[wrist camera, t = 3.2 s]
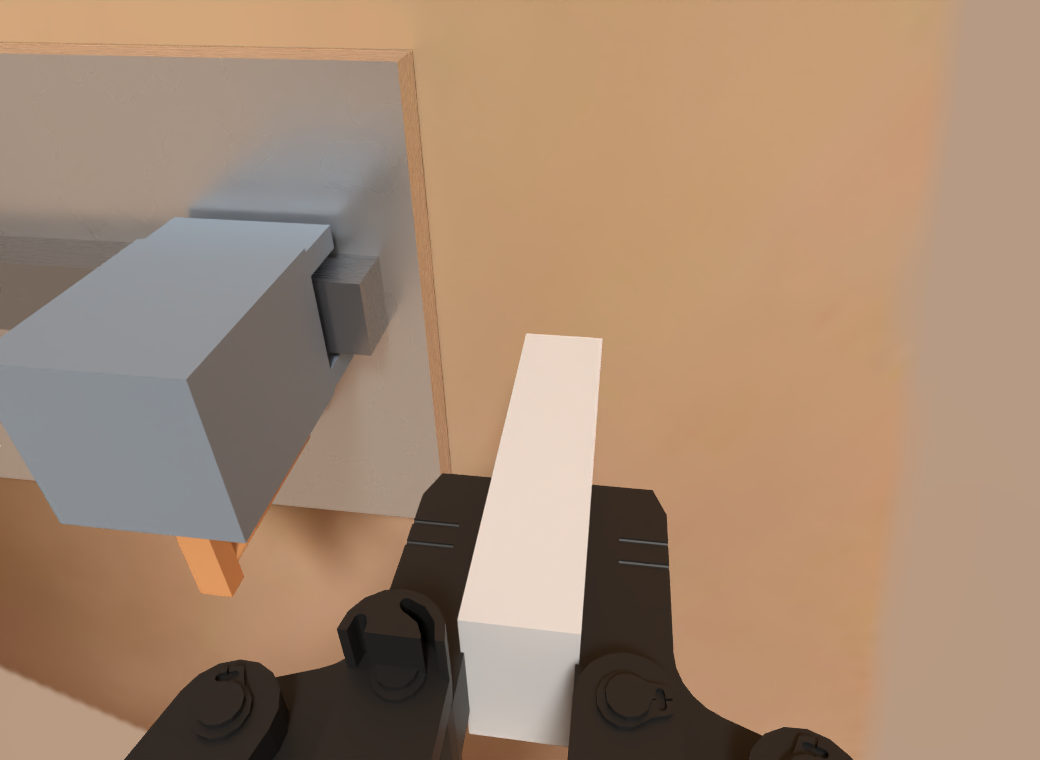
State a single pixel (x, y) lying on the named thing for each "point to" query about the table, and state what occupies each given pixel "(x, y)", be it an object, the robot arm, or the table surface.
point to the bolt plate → (244, 218)
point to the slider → (176, 385)
